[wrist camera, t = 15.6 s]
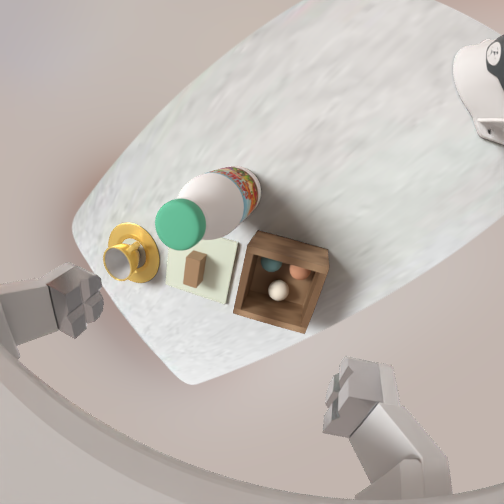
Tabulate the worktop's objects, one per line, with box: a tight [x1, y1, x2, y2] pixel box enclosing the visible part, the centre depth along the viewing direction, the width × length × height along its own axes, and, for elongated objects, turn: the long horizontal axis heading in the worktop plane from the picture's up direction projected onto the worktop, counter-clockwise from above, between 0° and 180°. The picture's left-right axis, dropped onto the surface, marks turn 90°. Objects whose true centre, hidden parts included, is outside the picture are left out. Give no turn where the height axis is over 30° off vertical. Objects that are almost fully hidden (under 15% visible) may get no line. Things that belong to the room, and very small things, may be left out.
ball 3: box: [289, 265, 311, 280], centre depth 42 cm, size 3×3×3 cm
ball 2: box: [268, 280, 289, 301], centre depth 44 cm, size 3×3×3 cm
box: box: [233, 230, 329, 334], centre depth 42 cm, size 11×11×7 cm
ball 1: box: [261, 257, 282, 272], centre depth 43 cm, size 3×3×3 cm
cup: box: [103, 223, 159, 283], centre depth 49 cm, size 12×12×5 cm
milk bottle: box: [155, 166, 261, 251], centre depth 34 cm, size 8×8×20 cm
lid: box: [166, 237, 238, 304], centre depth 47 cm, size 12×12×4 cm
